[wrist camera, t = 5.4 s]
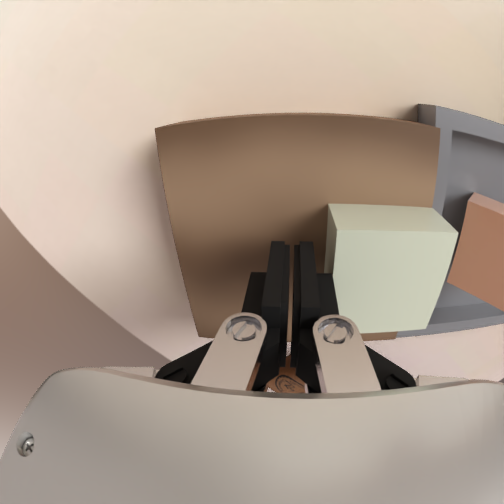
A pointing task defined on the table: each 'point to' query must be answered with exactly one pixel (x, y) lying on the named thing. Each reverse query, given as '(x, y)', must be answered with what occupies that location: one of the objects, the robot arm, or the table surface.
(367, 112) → the table surface
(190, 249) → the brown square slab
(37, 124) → the table surface
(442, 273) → the pale green rectangular block
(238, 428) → the robot arm
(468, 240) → the tile
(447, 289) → the tray
